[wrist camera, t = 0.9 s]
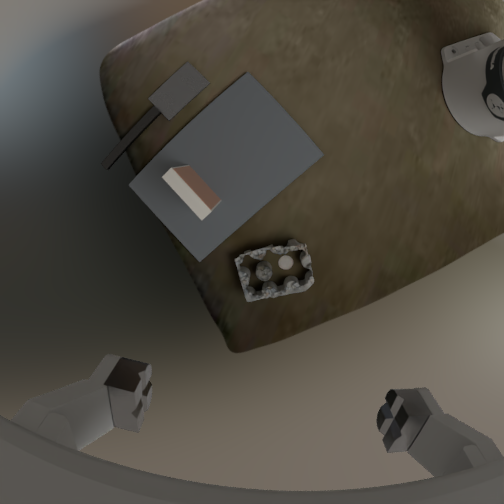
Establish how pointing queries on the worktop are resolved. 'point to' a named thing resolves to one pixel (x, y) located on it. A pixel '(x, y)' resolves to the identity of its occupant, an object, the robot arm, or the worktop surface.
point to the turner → (163, 106)
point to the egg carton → (265, 272)
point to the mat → (228, 164)
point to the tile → (192, 190)
